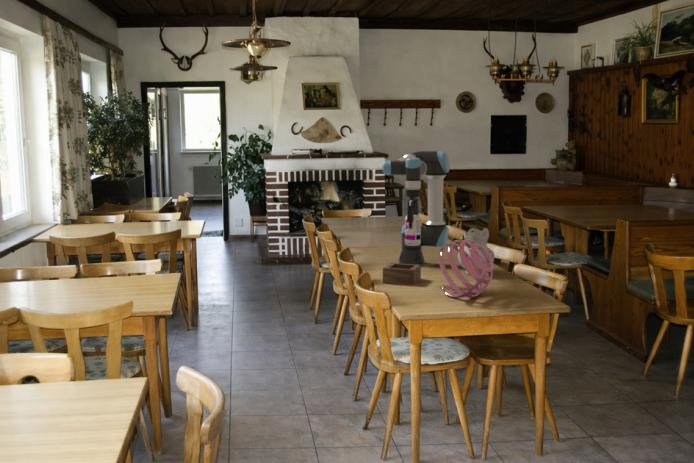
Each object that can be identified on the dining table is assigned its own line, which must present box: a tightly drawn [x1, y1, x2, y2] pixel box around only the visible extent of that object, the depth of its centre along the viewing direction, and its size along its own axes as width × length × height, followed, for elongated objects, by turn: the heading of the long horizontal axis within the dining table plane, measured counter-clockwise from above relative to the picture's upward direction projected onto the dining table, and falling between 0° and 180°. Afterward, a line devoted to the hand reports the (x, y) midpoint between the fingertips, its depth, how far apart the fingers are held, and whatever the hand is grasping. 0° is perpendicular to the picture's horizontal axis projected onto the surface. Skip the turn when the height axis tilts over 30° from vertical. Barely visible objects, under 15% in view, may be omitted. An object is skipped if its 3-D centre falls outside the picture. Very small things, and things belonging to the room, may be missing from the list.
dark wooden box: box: [382, 262, 422, 286], centre depth 393 cm, size 16×16×8 cm
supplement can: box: [404, 214, 422, 246], centre depth 388 cm, size 8×8×15 cm
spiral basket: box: [438, 239, 494, 299], centre depth 357 cm, size 28×28×27 cm
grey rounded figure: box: [457, 227, 495, 275], centre depth 411 cm, size 22×20×25 cm
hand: (412, 233), depth 388 cm, fingers closed on supplement can, 8 cm apart
